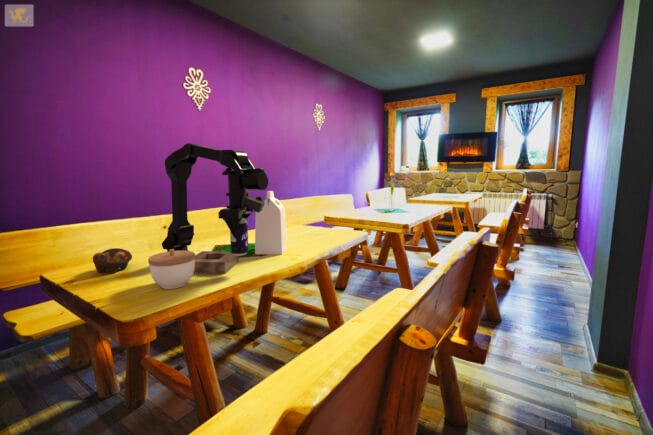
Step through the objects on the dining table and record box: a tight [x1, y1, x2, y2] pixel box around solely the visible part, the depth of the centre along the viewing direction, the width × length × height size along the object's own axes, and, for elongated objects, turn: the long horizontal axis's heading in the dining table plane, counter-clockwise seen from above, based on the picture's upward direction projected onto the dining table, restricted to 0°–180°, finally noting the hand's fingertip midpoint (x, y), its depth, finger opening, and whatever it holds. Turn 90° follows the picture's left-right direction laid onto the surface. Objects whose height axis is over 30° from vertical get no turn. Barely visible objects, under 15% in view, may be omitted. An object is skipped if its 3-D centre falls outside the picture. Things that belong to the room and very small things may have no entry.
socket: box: [194, 250, 240, 275], centre depth 108 cm, size 14×14×4 cm
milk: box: [254, 190, 288, 256], centre depth 130 cm, size 12×12×26 cm
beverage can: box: [229, 218, 249, 257], centre depth 100 cm, size 6×6×12 cm
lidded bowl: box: [147, 249, 196, 290], centre depth 91 cm, size 13×13×11 cm
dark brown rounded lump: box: [92, 247, 133, 274], centre depth 104 cm, size 10×15×8 cm, turn 0°
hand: (239, 236), depth 100 cm, fingers closed on beverage can, 6 cm apart
